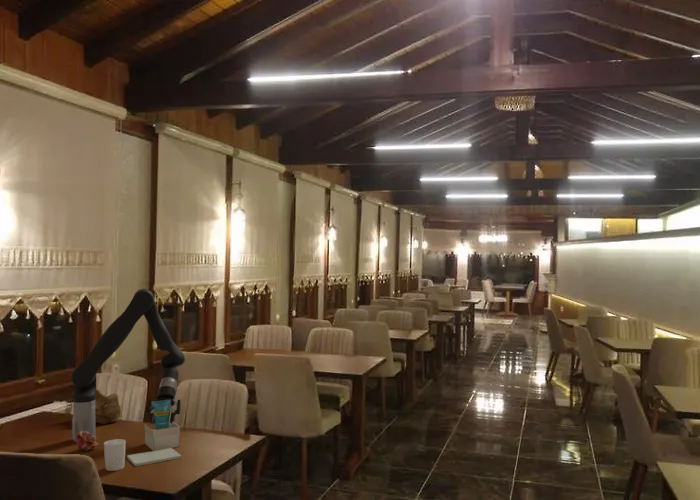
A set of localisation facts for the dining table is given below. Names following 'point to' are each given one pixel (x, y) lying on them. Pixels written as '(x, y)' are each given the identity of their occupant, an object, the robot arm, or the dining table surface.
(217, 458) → the dining table surface
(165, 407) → the tube
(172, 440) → the carton
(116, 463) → the white cup
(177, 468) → the dining table surface
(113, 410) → the rough brown rock
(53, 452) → the dining table surface
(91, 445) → the flower
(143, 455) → the tile
